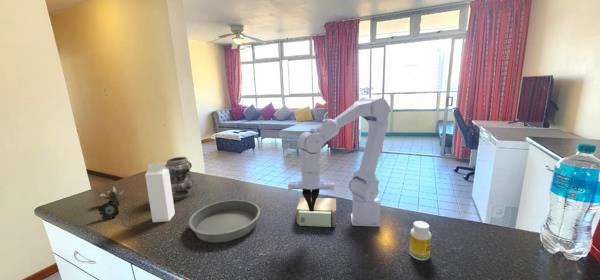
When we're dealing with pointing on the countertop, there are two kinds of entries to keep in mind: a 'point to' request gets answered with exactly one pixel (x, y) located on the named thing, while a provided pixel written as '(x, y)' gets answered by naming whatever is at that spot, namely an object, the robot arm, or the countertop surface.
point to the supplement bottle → (420, 241)
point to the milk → (159, 192)
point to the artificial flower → (110, 205)
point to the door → (316, 218)
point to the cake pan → (224, 220)
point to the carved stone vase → (180, 177)
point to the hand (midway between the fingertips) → (311, 210)
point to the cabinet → (318, 206)
